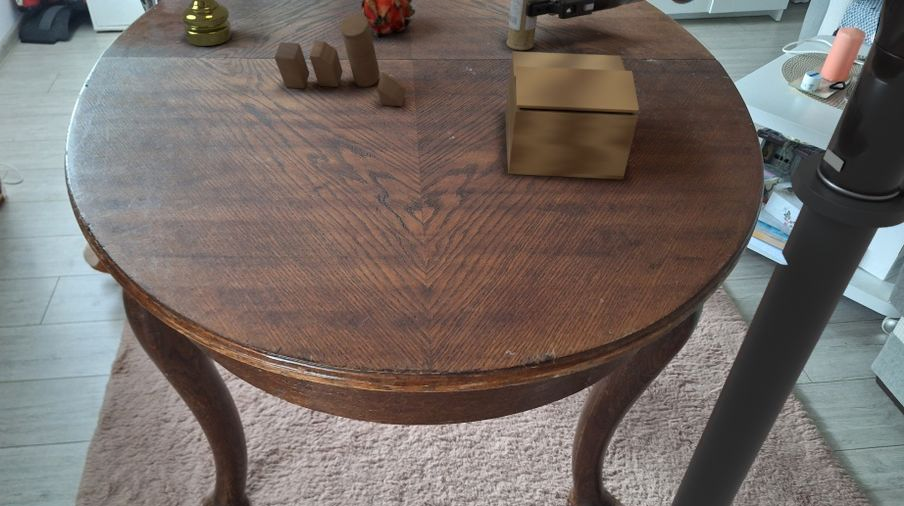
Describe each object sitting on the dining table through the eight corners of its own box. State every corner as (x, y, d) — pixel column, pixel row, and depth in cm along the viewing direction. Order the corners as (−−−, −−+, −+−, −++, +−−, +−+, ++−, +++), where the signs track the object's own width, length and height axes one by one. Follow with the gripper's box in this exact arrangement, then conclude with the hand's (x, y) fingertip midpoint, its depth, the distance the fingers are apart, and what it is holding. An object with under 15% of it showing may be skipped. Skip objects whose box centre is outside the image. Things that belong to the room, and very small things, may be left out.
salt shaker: (180, 34, 122) (167, -28, 116) (222, 26, 125) (213, -35, 119) (194, 50, 117) (182, -14, 111) (238, 41, 120) (229, -22, 114)
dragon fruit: (400, 24, 130) (384, 62, 123) (361, -6, 127) (342, 30, 120) (428, -10, 124) (413, 27, 117) (387, -43, 122) (370, -7, 114)
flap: (631, 73, 89) (632, 70, 88) (638, 113, 84) (639, 110, 84) (515, 68, 89) (515, 66, 89) (516, 107, 85) (516, 104, 85)
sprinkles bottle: (536, 51, 118) (548, -36, 110) (508, 51, 118) (517, -36, 109) (530, 39, 122) (541, -46, 113) (503, 40, 122) (512, -45, 113)
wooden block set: (284, 104, 109) (264, 54, 100) (300, 60, 112) (282, 7, 103) (403, 114, 105) (393, 63, 96) (415, 68, 109) (406, 15, 100)
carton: (607, 120, 101) (620, 55, 95) (623, 179, 90) (639, 110, 84) (505, 115, 102) (512, 51, 96) (508, 174, 91) (516, 105, 85)
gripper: (577, -51, 122) (492, -38, 117) (633, -24, 112) (542, -9, 107) (570, -5, 127) (488, 9, 122) (623, 24, 117) (535, 41, 112)
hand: (513, 1), depth 114 cm, fingers open, 7 cm apart
